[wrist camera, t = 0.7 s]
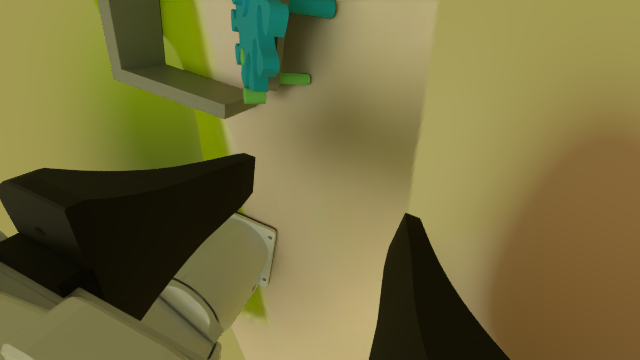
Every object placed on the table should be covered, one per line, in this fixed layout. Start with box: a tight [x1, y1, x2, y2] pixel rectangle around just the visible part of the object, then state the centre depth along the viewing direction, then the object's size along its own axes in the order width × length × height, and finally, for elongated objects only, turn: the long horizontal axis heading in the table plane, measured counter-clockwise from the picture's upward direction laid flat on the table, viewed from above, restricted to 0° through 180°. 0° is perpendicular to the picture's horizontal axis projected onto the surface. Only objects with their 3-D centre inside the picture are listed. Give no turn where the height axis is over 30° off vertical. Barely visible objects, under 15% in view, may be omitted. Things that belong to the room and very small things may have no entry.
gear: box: [231, 0, 336, 104], centre depth 16 cm, size 11×6×10 cm
